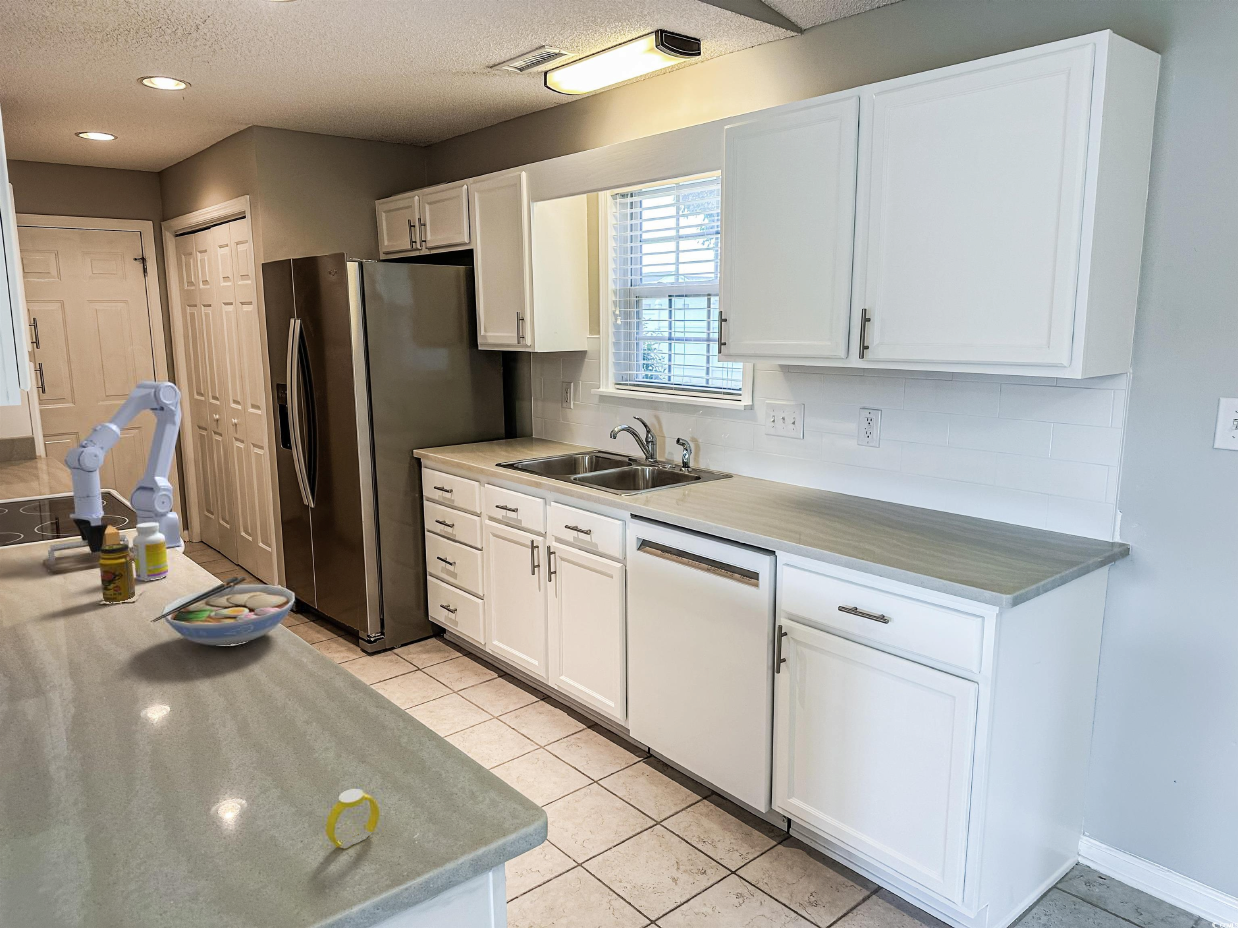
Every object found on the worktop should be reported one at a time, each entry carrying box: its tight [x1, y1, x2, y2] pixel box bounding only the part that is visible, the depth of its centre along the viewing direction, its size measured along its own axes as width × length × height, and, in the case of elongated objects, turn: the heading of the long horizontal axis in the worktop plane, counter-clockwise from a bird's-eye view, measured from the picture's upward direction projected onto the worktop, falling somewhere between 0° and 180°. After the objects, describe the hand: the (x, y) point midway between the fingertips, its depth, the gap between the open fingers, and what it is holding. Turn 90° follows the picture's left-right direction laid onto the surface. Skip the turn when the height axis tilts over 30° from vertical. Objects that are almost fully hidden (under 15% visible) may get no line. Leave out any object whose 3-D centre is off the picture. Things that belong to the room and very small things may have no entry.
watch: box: [325, 788, 380, 848], centre depth 96 cm, size 6×3×6 cm, turn 137°
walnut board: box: [42, 551, 134, 576], centre depth 209 cm, size 18×13×1 cm
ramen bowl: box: [150, 576, 295, 646], centre depth 158 cm, size 25×23×8 cm
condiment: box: [99, 542, 136, 603], centre depth 181 cm, size 7×8×12 cm
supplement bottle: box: [132, 522, 169, 581], centre depth 196 cm, size 7×7×13 cm
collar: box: [102, 524, 121, 547], centre depth 211 cm, size 3×9×6 cm, turn 43°
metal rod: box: [47, 534, 131, 566], centre depth 208 cm, size 17×2×5 cm, turn 132°
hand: (92, 548), depth 209 cm, fingers open, 7 cm apart
